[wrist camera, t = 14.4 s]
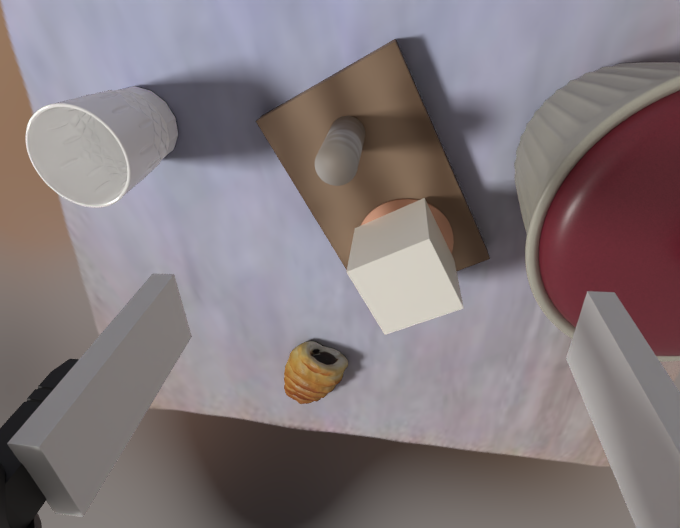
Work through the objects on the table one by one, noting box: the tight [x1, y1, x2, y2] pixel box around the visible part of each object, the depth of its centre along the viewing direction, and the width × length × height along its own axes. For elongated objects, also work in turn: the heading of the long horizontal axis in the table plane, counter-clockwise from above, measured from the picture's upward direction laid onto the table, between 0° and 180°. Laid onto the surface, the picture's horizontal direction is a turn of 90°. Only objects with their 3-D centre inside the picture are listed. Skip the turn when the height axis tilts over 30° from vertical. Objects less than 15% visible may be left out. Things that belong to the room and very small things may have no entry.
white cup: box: [26, 86, 178, 208], centre depth 38 cm, size 8×8×10 cm
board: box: [256, 39, 490, 271], centre depth 38 cm, size 13×21×10 cm, turn 29°
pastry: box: [284, 341, 348, 404], centre depth 54 cm, size 9×7×4 cm
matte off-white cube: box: [346, 198, 464, 335], centre depth 39 cm, size 7×7×8 cm
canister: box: [514, 62, 680, 361], centre depth 29 cm, size 18×18×21 cm
